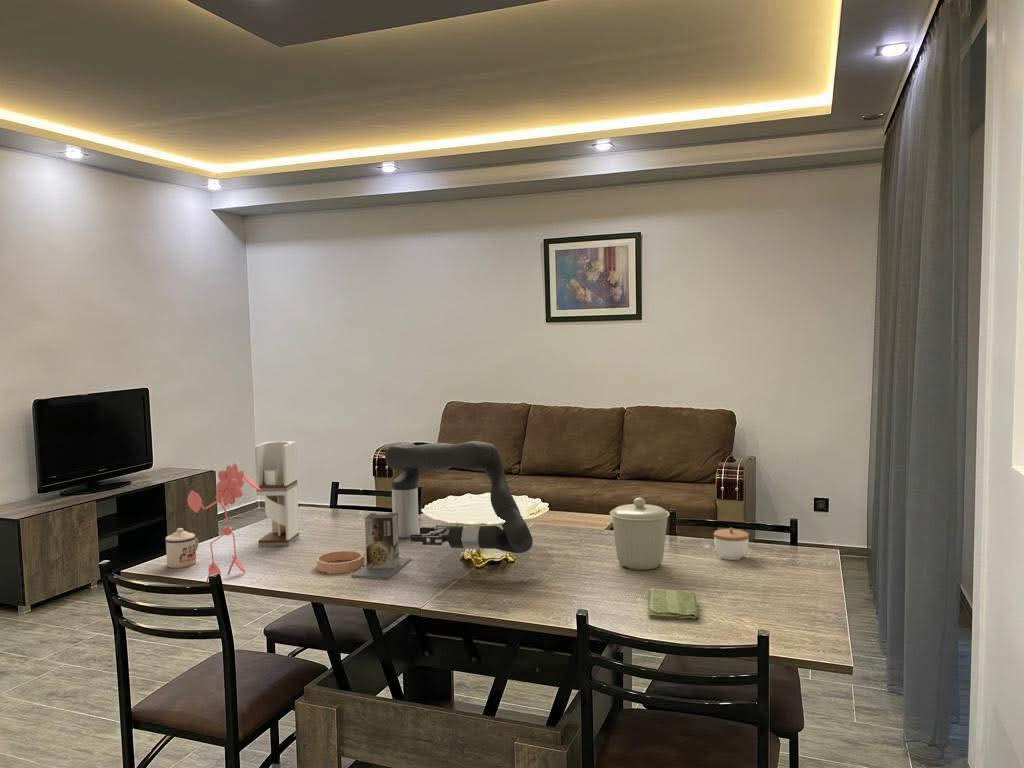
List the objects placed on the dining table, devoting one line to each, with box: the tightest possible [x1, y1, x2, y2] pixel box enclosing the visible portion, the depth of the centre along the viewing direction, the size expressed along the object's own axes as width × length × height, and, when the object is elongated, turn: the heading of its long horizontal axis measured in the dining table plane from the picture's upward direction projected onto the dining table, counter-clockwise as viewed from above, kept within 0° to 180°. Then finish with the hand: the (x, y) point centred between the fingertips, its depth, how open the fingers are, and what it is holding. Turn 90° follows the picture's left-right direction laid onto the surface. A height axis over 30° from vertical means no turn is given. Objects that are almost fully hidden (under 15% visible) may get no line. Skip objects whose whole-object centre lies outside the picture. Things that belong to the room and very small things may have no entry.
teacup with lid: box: [164, 527, 199, 569], centre depth 250 cm, size 12×9×12 cm
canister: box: [609, 497, 670, 571], centre depth 238 cm, size 18×18×21 cm
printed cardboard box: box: [364, 512, 400, 569], centre depth 240 cm, size 9×6×16 cm
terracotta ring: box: [315, 549, 365, 574], centre depth 244 cm, size 14×14×3 cm
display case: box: [254, 441, 300, 547], centre depth 274 cm, size 11×11×35 cm
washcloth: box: [647, 588, 701, 620], centre depth 201 cm, size 13×18×3 cm
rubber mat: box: [350, 556, 412, 580], centre depth 241 cm, size 20×12×1 cm, turn 168°
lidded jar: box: [713, 527, 750, 561], centre depth 245 cm, size 11×11×9 cm
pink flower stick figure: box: [187, 462, 261, 588], centre depth 230 cm, size 15×26×35 cm, turn 158°
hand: (415, 534), depth 238 cm, fingers open, 8 cm apart
